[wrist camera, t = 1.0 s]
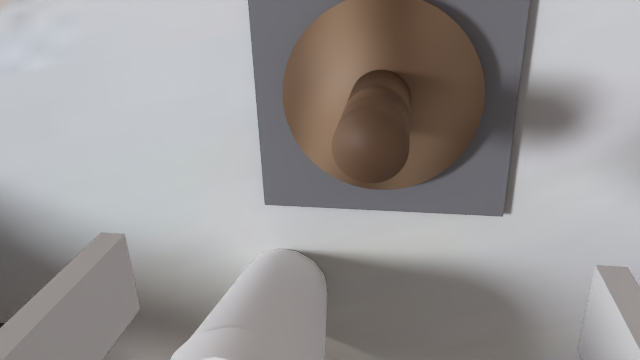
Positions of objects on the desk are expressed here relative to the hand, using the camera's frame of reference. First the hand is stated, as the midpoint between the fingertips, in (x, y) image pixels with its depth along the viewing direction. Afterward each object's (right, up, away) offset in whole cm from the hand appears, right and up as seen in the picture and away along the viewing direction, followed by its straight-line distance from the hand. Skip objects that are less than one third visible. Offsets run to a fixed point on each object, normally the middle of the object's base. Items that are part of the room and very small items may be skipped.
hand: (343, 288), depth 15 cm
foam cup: (-3, -5, +26) cm, 26 cm away
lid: (+3, +8, +18) cm, 20 cm away
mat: (+3, +9, +18) cm, 20 cm away
